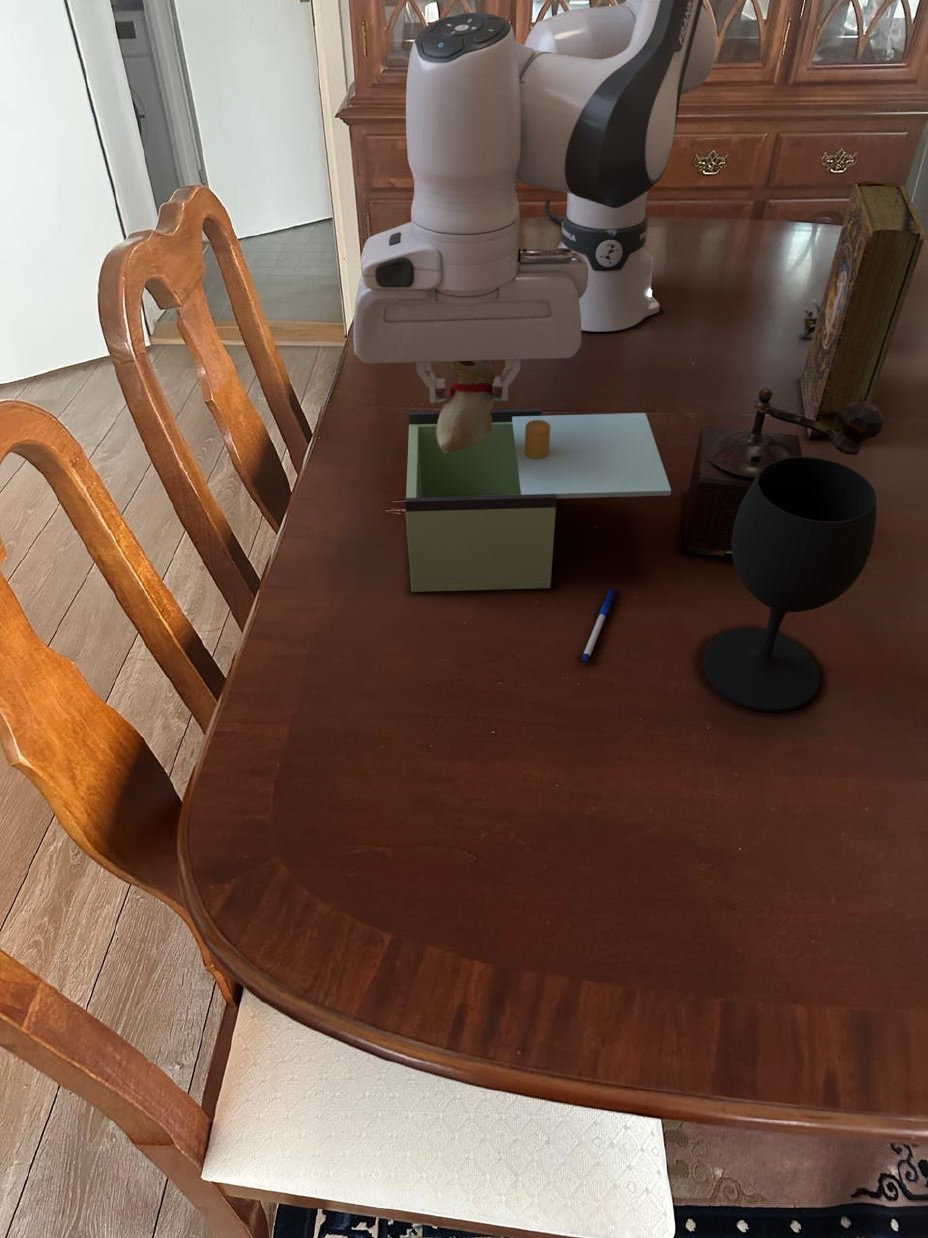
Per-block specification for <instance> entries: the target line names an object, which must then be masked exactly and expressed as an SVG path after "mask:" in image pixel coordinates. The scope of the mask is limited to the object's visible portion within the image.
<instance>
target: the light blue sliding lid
mask: <svg viewBox="0 0 928 1238" xmlns="http://www.w3.org/2000/svg"><path fill="white" fill-rule="evenodd" d="M512 424H513V433H514V441H515V449H516V458H517V466H518V474H519V483H520V491H521V495H530V494H556V500H557V499H586V498H588V499H589V498H592V499H595V498H626V497H660V496H663V497H665V496H671V495H672V488H671V486H670V483H669V480H668V477H667V473H666V471H665V468H664V464H663V461H662V458H661V456H660V452H659V449H658V446H657V443H656V441H655V436H654V434H653V432H652V427H651V426H650V425H651V424H650V422H649V420H648V416H647V413H646V412H635V413H634V412H633V413H631V412H630V413H627V412H626V413H597V414H596V413H595V414H594V413H593V414H590V413H589V414H563V415H562V414H560V415H559V414H557V415H553V414H552V415H542V416H516V417H512Z"/></svg>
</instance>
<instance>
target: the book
mask: <svg viewBox="0 0 928 1238" xmlns="http://www.w3.org/2000/svg"><path fill="white" fill-rule="evenodd" d="M916 211H917V210H916V209H915V207H914V205H913V203H912V200H911V199H910V196H909V193H908V191H907V190H906V187H905V185H903V184H901V183H895V182H890V181H880V180H862V181H857V182H854V183H853V184H852V188H851V192H850V195H849V199H848V203H847V207H846V209H845V214H844V217H843V222H842V225H841V229H840V232H839V236H838V241H837V244H836V247H835V252H834V254H833V259H832V263H831V267H830V270H829V274H828V278H827V281H826V284H825V289H824V293H823V296H822V300H821V303H820V306H821V307H820V311H819V315H817V317H818V318H817V317H816V318H817V322H816V324H815V325H816V326H815V325H814V326H815V330H814V332H813V333H812V338H811V342H810V345H809V349H808V352H807V356H806V360H805V363H804V368H803V371H802V375H801V378H800V388H801V394H802V396H801V397H802V402H803V408H804V409H803V410H804V417H806V418H809V419H812V420H815V421H818V422H820V423H823V424H825V425H827V426H828V427H830V428H831V429H833V430H834V431H835V432H837V433H839V432H840V431H841V429H842V412H843V409H844V407H845V406H846V405H848V404H849V403H850V402H853V401H864V402H869V403H872V400H873V396H874V393H875V390H876V387H877V384H878V381H879V378H880V375H881V373H882V370H883V366H884V363H885V359H886V357H887V354H888V350H889V347H890V345H891V342H892V339H893V336H894V332H895V329H896V327H897V323H898V320H899V318H900V315H901V313H902V312H901V311H902V309H903V305H904V303H905V299H906V296H907V293H908V290H909V287H910V284H911V281H912V278H913V276H914V272H915V269H916V266H917V263H918V260H919V257H920V254H921V251H922V248H923V245H924V242H925V237H926V232H925V229H924V227H923V225H922V222H921V220H920V218H919V215H918V214H917V212H916ZM806 430H807V434H808V438H809V439H813V438H816V437H821V436H824V435H822V434H821V433H819V432H817V431H815V430H812V429H810V428H806ZM824 437H825V436H824Z"/></svg>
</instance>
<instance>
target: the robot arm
mask: <svg viewBox="0 0 928 1238" xmlns="http://www.w3.org/2000/svg"><path fill="white" fill-rule="evenodd" d="M703 2H704V0H624V2H623V3H619V4H617V5H606V6H605V5H604V6H598V7H597V6H594V7H587V8H586V7H584V8H574V9H573V8H572V9H569V10H565V11H564V12H560V13H557V14H555V15H551V16H549V17H547V18H544V19H542V20H539V21H537V22H536V23H535V24H534V25H533V26H532V28H531V29H530V32H529V33H528V35H527V38H526V40H525V42H524V44H522V43H520V42H519V41H518V40H516V36H515V33H514V29H513V26H512V25H511V23H510V22H509V21H508V20H507V19H506V18H504V17H502V16H500V15H497V14H492V13H488V12H462V13H460V14H455V15H450V16H445V17H442V18H439V19H437V20H434V21H433V22H430V23H429V24H427V25H426V26H425V27H424V28H423V29H421V30H420V31H419V32H418V33H417V35H416V36H415V37H414V39H413V42H412V45H411V49H410V53H409V59H408V67H407V74H406V75H407V76H406V90H405V91H406V93H405V130H406V131H405V133H406V149H407V150H406V151H407V162H408V165H409V168H410V171H411V174H412V179H413V186H414V187H413V189H414V190H413V199H412V203H411V208H410V221H409V222H407V223H404V224H401V225H399V226H395V227H393V228H391V229H388V230H385V231H382V232H379V233H376V234H374V235H372V236H370V237H368V238H367V240H366V241H365V243H364V246H363V249H362V253H361V255H360V272H361V277H360V279H359V282H358V286H357V289H356V296H355V302H354V304H355V305H354V314H353V350H354V351H353V352H354V355H355V356H356V357H357V358H358V359H359V360H360V361H361V362H362V363H363V364H365V365H376V364H409V363H411V364H413V363H415V366H416V374H417V375H418V376H419V377H420V379H421V380H422V382H423V383H424V384H425V386H426V387H427V388H428V389H429V402H430V404H444V403H446V400H447V396H446V395H447V393H446V392H447V391H446V378H445V377H443V378H440V377H436V375H435V374H434V372H433V363H442V362H444V363H445V362H448V361H480V360H492V361H504V368H503V370H502V372H501V374H500V375H499V376H496V377H492V401H494V402H508V401H509V386H511V384H512V383H513V381H514V380H515V378H516V376H517V375H518V373H519V372H520V371H521V368H522V367H521V363H522V362H521V360H538V359H539V360H543V359H569V358H572V357H574V355H576V354H577V352H578V351H579V350H580V348H581V346H582V331H585V332H595V333H602V332H603V333H608V332H616V331H621V330H626V329H629V328H631V327H634V326H636V325H638V324H640V323H641V322H642V321H643V320H644V319H645V318H647V317H650V316H652V315H655V314H657V313H659V312H660V303H659V302H658V300H656V298H655V297H654V296H653V295H652V294H653V290H652V281H653V268H654V257H653V256H652V255H651V253H650V252H649V250H647V249H646V247H645V245H646V240H647V234H648V227H649V226H648V215H647V214H646V211H647V203H648V194H649V191H650V189H651V188H653V187H654V186H655V185H656V184H658V182H659V181H660V180H661V179H662V177H663V176H664V174H665V171H666V170H667V167H668V163H669V160H670V157H671V153H672V149H673V145H674V141H675V140H674V139H675V135H676V128H677V123H678V122H677V121H678V116H679V109H680V102H681V96H683V95H685V94H688V93H690V92H693V91H695V90H697V89H699V88H700V87H701V86H702V85H703V84H704V83H705V81H706V80H707V78H708V77H709V75H710V73H711V71H712V69H713V66H714V62H715V59H716V54H717V46H718V45H717V33H716V28H715V25H714V21H713V19H712V17H711V15H710V14H709V12H708V11H707V9H706V8H705V7H704V5H703ZM517 184H523V185H526V186H530V187H535V188H541V189H545V190H550V191H555V192H559V193H560V192H561V193H565V194H566V196H567V199H566V211H565V212H564V214H563V219H562V218H560V217H558V216H557V215H555V214H554V213H552V212H551V211H550V204H551V200H550V199H549V198H548V199H546V200H545V203H544V212H545V215H546V216H548V218H549V219H551V220H552V221H554V222H556V223H558V224H559V225H560V226H561V236H560V237H561V241H560V243H559V244H558V247H557V248H554V249H553V248H552V249H547V248H546V249H545V248H519V247H520V243H519V242H520V205H519V200H518V196H517V192H516V185H517Z"/></svg>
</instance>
